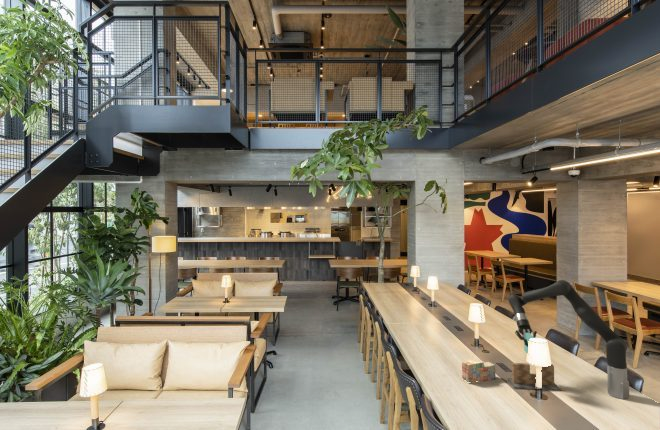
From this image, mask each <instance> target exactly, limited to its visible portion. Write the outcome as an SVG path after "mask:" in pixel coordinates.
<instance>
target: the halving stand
mask: <svg viewBox="0 0 660 430" xmlns="http://www.w3.org/2000/svg"><path fill="white" fill-rule="evenodd" d="M511 368H512V369H511V372H512V373H511V375H512V376H511V377H512V378H506V379H507V382H508V383H509V384H510V385H511V387H512V388H513V390H514V389H515V390H517V389H518V390H534V389H535V383H536V379H535V377H536V373H531V365H530V363H527V362H525V363H523V362H511ZM541 372H542V390H541V391H554V392H555V391H557V392H560V391H561V388H560V387H559V386H558V385H557V384H556V383H555V365H553V364H551V366H548V367H542V370H541Z"/></svg>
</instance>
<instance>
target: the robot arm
mask: <svg viewBox="0 0 660 430" xmlns="http://www.w3.org/2000/svg"><path fill="white" fill-rule="evenodd" d="M559 296H562V297H564V298H565V299H566V300H567V301H568V302H569V303H570V305H571V307H572V308H573V311H575V314H576V315H577V316H578V318H579V319H580V320H581V321H582V322H583V323H584V324H585V325H586V326H587V327H588V328H590V329H592V331H594V332H596V334H598V335H599V336H600V337H601V338H602V339H603V340H604V342H605V343H606V345H605V357H606V363H607V364H606V366H607V367H606V368H607V370H606V372H607V373H606V374H607V376H606V378H607V379H606V380H607V394H608V395H609V396H611V397H613V398H618V399H621V400H626V399H628V398H630V381H629V380H628V364H627V355H626V352H627V350H628V345H627V342H626V341H625V340H624V339H622V337H620V336H619V335H618V334H617V333H616V332H615V331H614V330H613V329H611V327H610V326H609V325H608V324H607V323H606V322H605V321H604V320H603V318H601V316H600V315H599V314H598V313H597V312H596V310H595V309H593V308H592V307H591V306H590V305H589V304H588V303H587V302H586V301H585V299H584V298H582V297H581V296H580V295H579V294H578V292H577V291H576V290H575V288H574V287H573V285H572V284H571V283H570V282H568V281H567V280H564V279H560V280H558V281H557V280H556V282H555V281H554V283H552V284H550V285H549V286H546V287H545V286H544V287H542V288H538V289H533V290H529V291H525V292H523V293H522V294H521V296H519V295H517V294H516V293H512V294H509V296H508V303H509V305H510V307H511V309H512V310H513V314H514V319H515V322H516V323H515V324H516V325H517V330H515V332H514V334H515V335H516V336H517V337H518V338H519V340H520V341H523V344H524V343H525V345H526V346H528V342H527V340H526V334H525V333H530V334H531V335H532V336H533V337H535V338H536V337H537V333H538V331H537V330H536V331H534V330H533V329H532V328H531V325H530V322H529V318H528V316H527V314H526V310H525V308H524V306H525V305H527V304H529V303H532V302H537V301H539V300H542V299H545V298H550V297H559Z"/></svg>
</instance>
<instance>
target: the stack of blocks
mask: <svg viewBox="0 0 660 430" xmlns="http://www.w3.org/2000/svg"><path fill="white" fill-rule="evenodd" d="M461 363H462V364H461V373H462V375H461V376H462V377H461V379H462V378H463V379H464V380H466V381H467V382H476V381H481V382H485V381H484V380H486V381H491V380H496V378H497V377H496V365H495V364H493V363H492V362H490V361H482V360H480V359H478V358H476V359H469V360H463V361H461ZM464 380H463V381H464ZM467 382H466V383H467ZM476 383H477V382H476Z"/></svg>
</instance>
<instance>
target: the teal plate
mask: <svg viewBox="0 0 660 430" xmlns="http://www.w3.org/2000/svg"><path fill="white" fill-rule="evenodd" d="M525 334H526V340H527V342H528V341H529V339H530V338H536V337H533V334H532V333H531V334H530V333H525ZM523 347H524V348H523V350H524V352H525V353H527V354H528V346H526V345H525V343H524V342H523Z"/></svg>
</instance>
